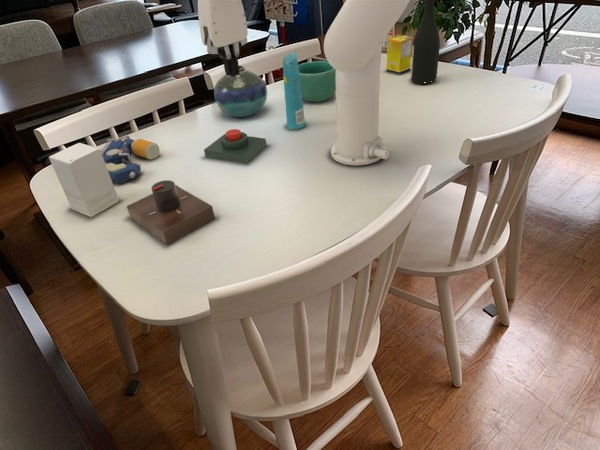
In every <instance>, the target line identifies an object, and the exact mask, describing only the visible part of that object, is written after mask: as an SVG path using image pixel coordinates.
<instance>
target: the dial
mask: <svg viewBox="0 0 600 450" xmlns="http://www.w3.org/2000/svg"><path fill="white" fill-rule="evenodd" d="M175 185H176V183H175V181H172V180H167V179H166V180H165V179H164V180H161V181H160V180H159V181H157V182H156V183H153V185H152V186H151V188H150V189H151V194H153V196H154V199H155V202H156V206H157V209H158V210H159V211H162V212H168V211H172V210H175V209H176V208H178V207H179V205H180V202H179V198H178V194H177V191H176V187H175Z"/></svg>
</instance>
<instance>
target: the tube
mask: <svg viewBox="0 0 600 450" xmlns="http://www.w3.org/2000/svg"><path fill="white" fill-rule="evenodd" d="M298 61H299V60H298V55H297V51H296V50H295V49H294V50H293V51H291V52H290V53H289V54H287V55H285V56H284V57H283V58H282V74H283V89H284V90H283V91H284V101H285V113H286V126H287V128H288V129H289V130H300V129H302V128H304V127H305V126H306V121H305V112H304V103H303V98H302V92H301V83H300V75H299V67H298V65H299V62H298Z"/></svg>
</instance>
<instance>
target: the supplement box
mask: <svg viewBox="0 0 600 450" xmlns="http://www.w3.org/2000/svg"><path fill="white" fill-rule="evenodd" d="M386 42H387V43H386V44H387V45H386V47H387V48H386V72H387V73H390V74H391V73H392V74H396V75H401V74H404V73H406V72H409V71H411V63H412V48H413V37H412V36H408V35H404V34H403V35H402V34H398V35H395V36H392V37H388V38H387V41H386ZM409 67H410V68H409ZM407 68H408V69H407ZM404 69H406V70H404ZM402 70H403V71H402ZM398 71H399V72H398Z"/></svg>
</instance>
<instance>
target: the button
mask: <svg viewBox="0 0 600 450" xmlns="http://www.w3.org/2000/svg"><path fill="white" fill-rule="evenodd" d="M241 132H242V131H241V129H238V128H233V129H228V130H227V131H226V132H225V133H226V137H227V140H228V141H236V140H239V139H241Z"/></svg>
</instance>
